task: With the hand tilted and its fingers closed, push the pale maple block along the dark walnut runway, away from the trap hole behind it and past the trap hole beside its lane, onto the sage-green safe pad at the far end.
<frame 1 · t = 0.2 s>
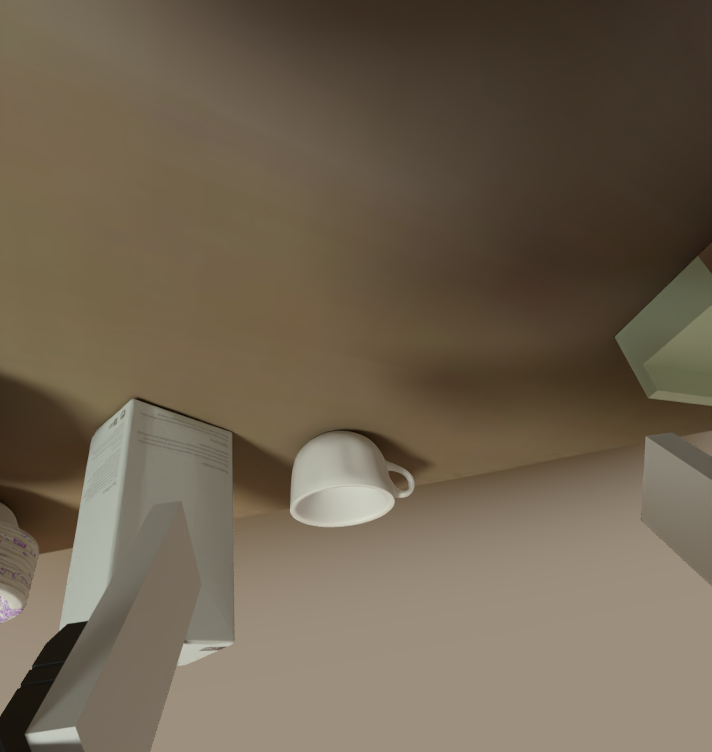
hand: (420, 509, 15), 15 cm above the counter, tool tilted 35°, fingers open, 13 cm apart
skincare box: (169, 429, 38), on the counter
teacup: (349, 443, 43), on the counter
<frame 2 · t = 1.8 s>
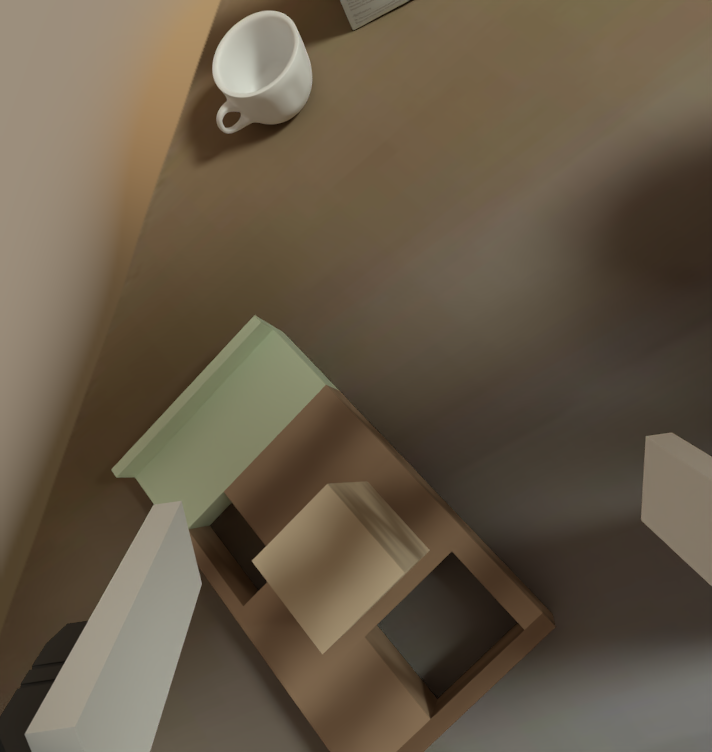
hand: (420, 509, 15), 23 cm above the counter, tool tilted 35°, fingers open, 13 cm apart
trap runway: (326, 532, 39), on the counter
maple block: (366, 546, 35), point 3 cm above the counter, touching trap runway
safe pad: (242, 432, 42), on the counter
teacup: (275, 109, 47), on the counter
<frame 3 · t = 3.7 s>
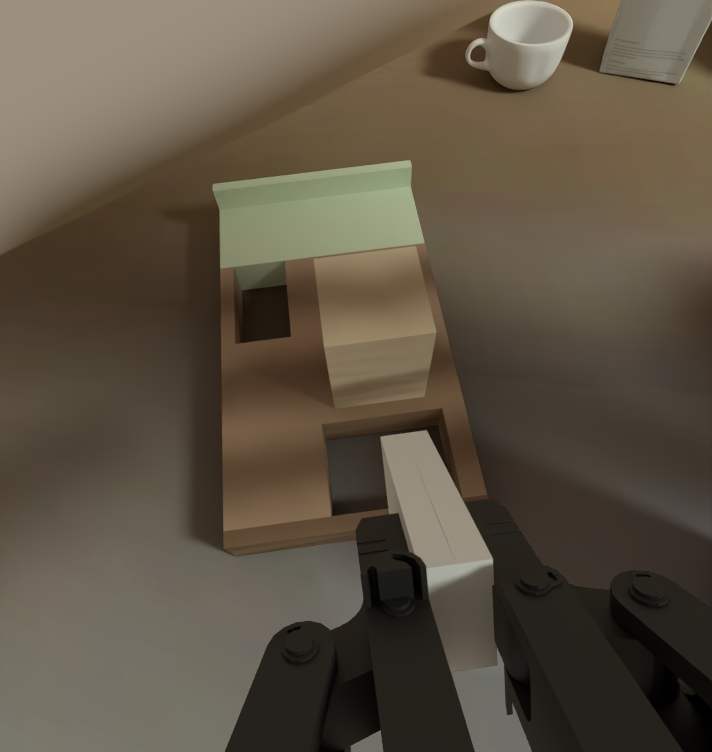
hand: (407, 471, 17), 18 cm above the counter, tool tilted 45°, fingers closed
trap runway: (335, 352, 40), on the counter
maple block: (373, 363, 36), point 3 cm above the counter, touching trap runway
skincare box: (637, 66, 55), on the counter
safe pad: (322, 247, 45), on the counter
teacup: (507, 80, 55), on the counter
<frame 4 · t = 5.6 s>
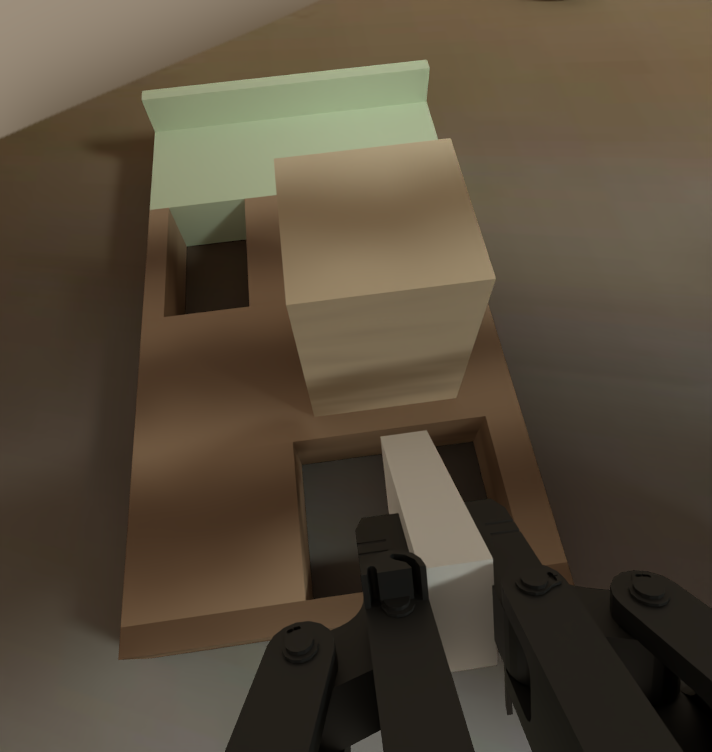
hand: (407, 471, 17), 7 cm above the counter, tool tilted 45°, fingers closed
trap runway: (318, 332, 27), on the counter
maple block: (375, 346, 23), point 3 cm above the counter, touching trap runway
safe pad: (302, 189, 32), on the counter
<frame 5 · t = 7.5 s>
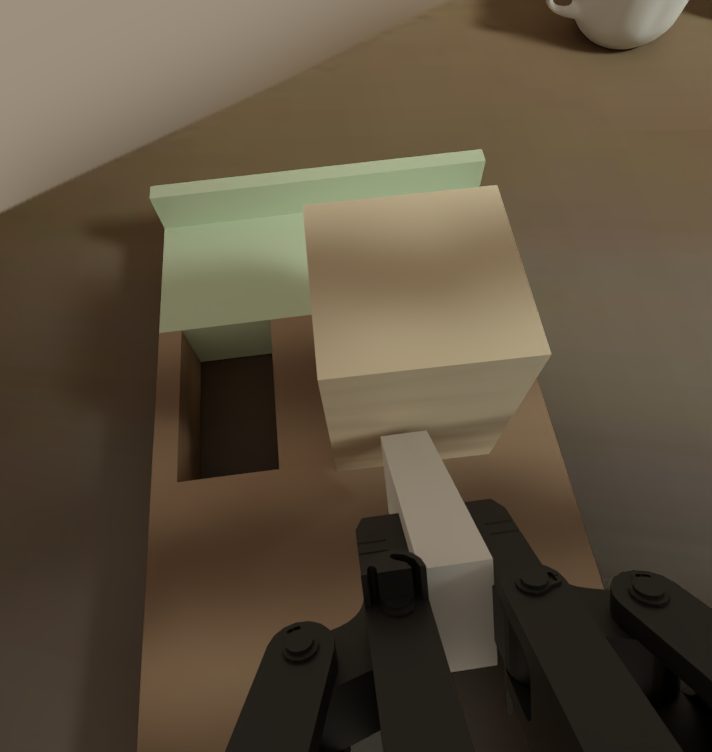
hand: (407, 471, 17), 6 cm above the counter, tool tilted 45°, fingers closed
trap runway: (357, 479, 23), on the counter
maple block: (401, 393, 22), point 3 cm above the counter, touching gripper, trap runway
safe pad: (332, 288, 28), on the counter
teacup: (599, 36, 38), on the counter
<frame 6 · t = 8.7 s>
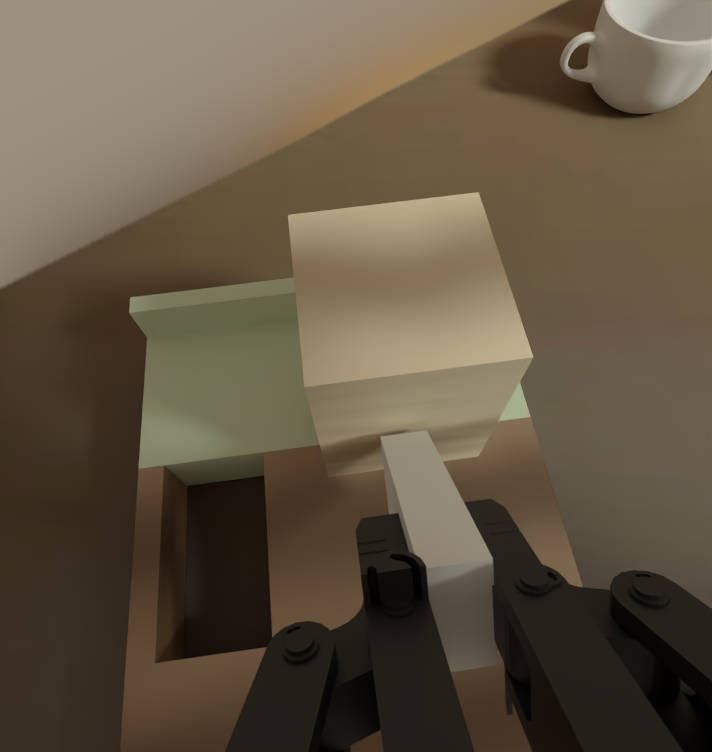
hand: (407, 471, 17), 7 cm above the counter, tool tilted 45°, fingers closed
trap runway: (361, 635, 21), on the counter
maple block: (391, 398, 22), point 3 cm above the counter, touching gripper, safe pad, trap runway
safe pad: (332, 396, 25), on the counter
teacup: (615, 98, 35), on the counter
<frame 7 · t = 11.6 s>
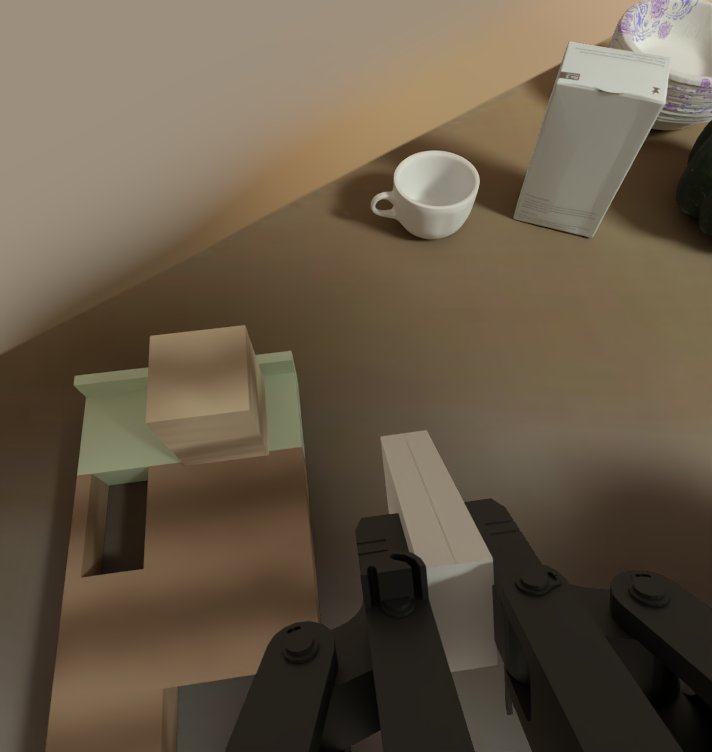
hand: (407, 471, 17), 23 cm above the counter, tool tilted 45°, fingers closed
paper bowls: (654, 106, 61), on the counter
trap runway: (201, 568, 37), on the counter
maple block: (226, 422, 39), point 3 cm above the counter, touching safe pad, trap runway
skincare box: (553, 212, 53), on the counter
safe pad: (201, 431, 42), on the counter
teacup: (418, 224, 52), on the counter
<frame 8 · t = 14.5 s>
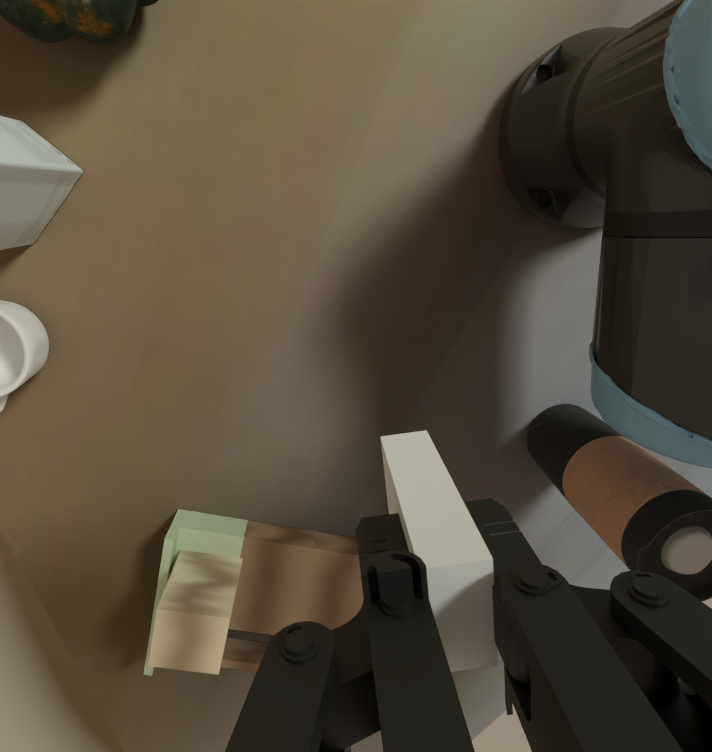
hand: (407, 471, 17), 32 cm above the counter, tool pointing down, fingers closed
travel mug: (559, 435, 54), on the counter
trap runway: (299, 594, 57), on the counter
maple block: (207, 579, 52), point 3 cm above the counter, touching safe pad, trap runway
skincare box: (30, 189, 43), on the counter
safe pad: (201, 579, 55), on the counter
teacup: (17, 347, 47), on the counter
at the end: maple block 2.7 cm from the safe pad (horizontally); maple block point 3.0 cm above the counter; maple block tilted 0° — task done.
